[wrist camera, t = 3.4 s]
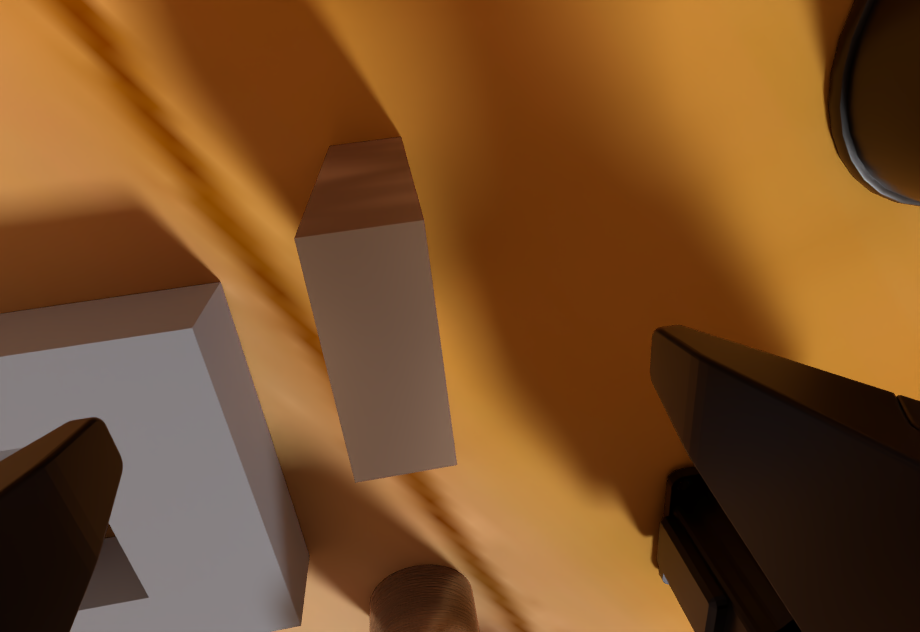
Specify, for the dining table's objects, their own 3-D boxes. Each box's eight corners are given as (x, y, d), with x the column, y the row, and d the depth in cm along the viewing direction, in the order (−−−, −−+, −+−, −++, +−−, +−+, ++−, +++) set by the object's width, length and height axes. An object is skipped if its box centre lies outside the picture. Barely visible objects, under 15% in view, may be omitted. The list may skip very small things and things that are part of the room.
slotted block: (220, 281, 17) (191, 328, 14) (309, 555, 22) (300, 625, 20) (-209, 344, 16) (-324, 405, 13) (-6, 613, 22) (-60, 694, 19)
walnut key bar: (401, 136, 16) (423, 220, 9) (424, 296, 18) (456, 464, 11) (329, 145, 16) (294, 238, 9) (362, 305, 18) (355, 483, 11)
